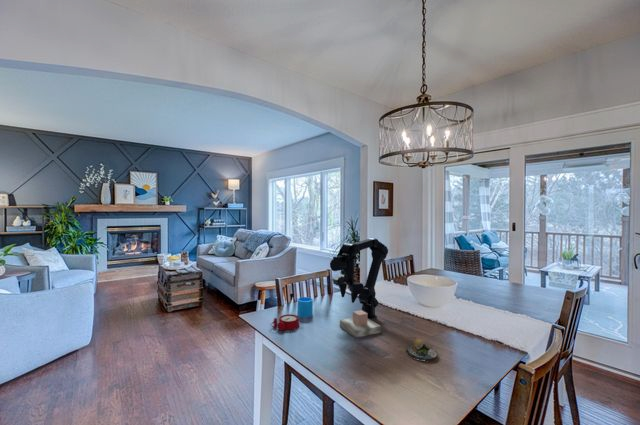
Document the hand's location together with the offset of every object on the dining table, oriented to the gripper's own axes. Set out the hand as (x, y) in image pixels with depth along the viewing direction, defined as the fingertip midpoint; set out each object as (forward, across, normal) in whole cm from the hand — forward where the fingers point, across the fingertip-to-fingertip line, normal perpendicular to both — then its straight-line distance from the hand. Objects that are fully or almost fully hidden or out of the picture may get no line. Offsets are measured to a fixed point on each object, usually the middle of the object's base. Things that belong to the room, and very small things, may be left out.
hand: (347, 299), depth 145 cm
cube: (+9, +8, +2) cm, 12 cm away
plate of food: (+12, +38, +11) cm, 41 cm away
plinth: (+12, +8, +2) cm, 15 cm away
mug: (+12, -22, -14) cm, 29 cm away
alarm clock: (+12, -9, -29) cm, 33 cm away
